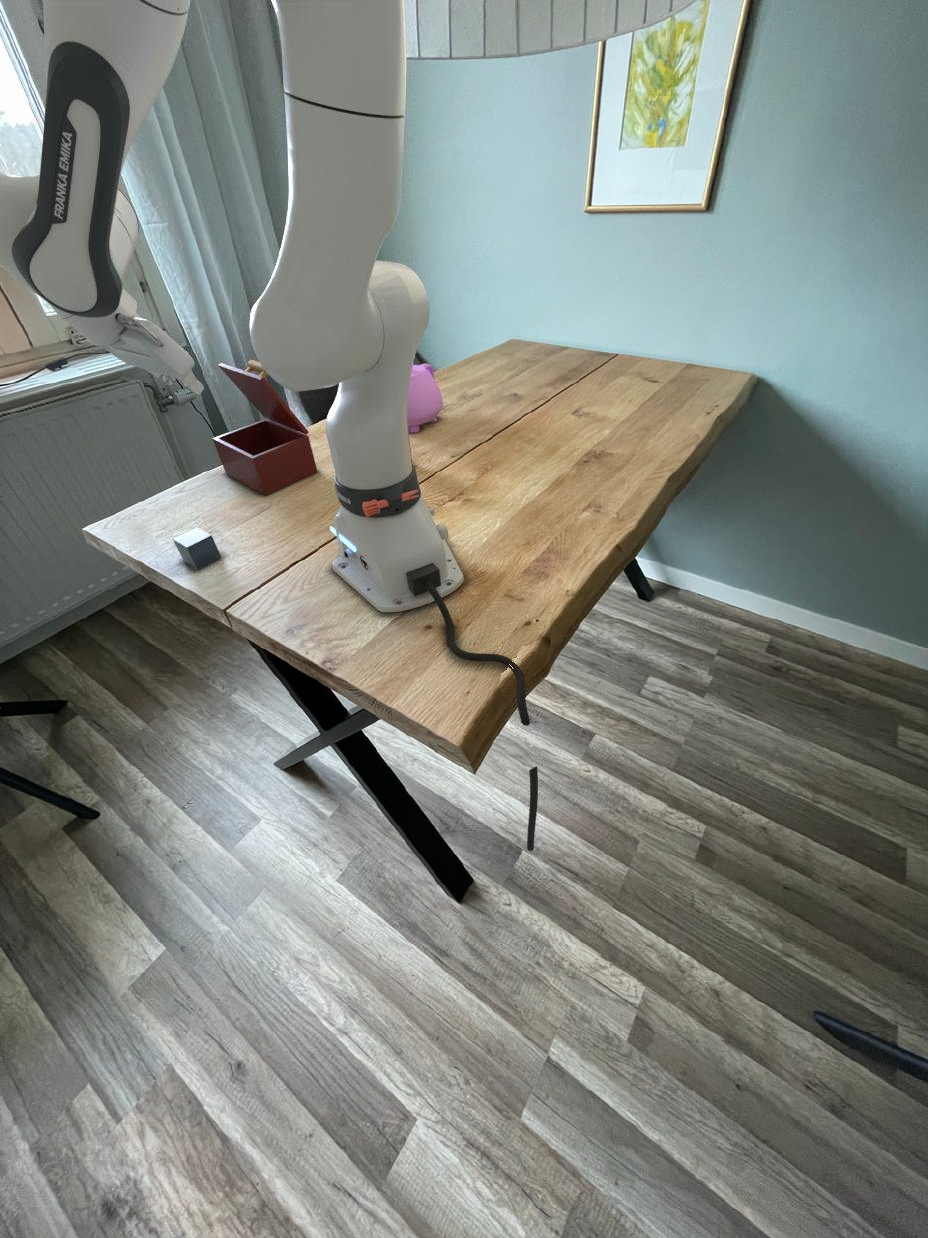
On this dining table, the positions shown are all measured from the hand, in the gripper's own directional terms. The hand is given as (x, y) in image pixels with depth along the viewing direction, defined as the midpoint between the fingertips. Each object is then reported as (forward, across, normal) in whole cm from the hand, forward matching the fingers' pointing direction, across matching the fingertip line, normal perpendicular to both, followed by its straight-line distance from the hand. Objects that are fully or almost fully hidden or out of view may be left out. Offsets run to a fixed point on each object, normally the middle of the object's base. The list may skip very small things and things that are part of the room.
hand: (185, 386), depth 85 cm
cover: (+15, +6, -10) cm, 18 cm away
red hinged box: (+25, +6, 0) cm, 26 cm away
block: (+13, -11, +22) cm, 28 cm away
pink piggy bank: (+43, 0, -30) cm, 53 cm away
